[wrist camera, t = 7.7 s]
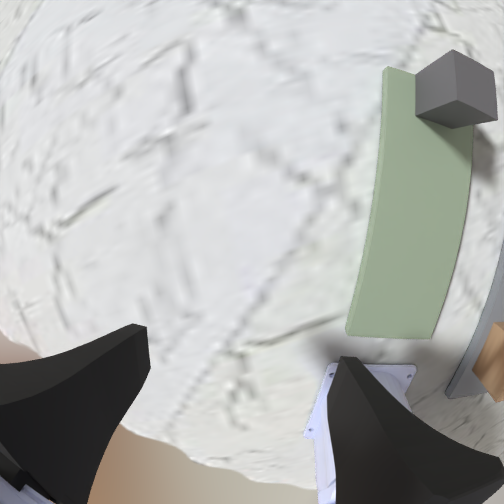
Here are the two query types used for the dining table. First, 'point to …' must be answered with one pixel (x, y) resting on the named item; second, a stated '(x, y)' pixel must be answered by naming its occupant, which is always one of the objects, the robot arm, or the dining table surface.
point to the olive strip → (419, 195)
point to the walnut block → (492, 363)
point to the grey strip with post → (480, 339)
